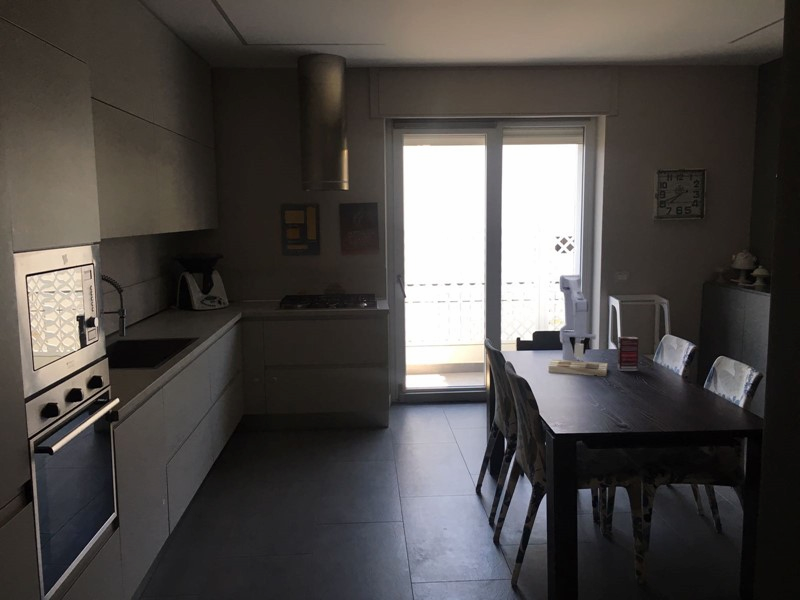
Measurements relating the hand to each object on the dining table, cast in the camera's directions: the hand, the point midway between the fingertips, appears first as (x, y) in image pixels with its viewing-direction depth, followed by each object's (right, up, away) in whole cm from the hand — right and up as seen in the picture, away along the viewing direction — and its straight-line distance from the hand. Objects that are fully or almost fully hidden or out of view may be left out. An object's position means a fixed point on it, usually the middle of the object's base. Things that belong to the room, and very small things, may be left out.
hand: (579, 353), depth 305 cm
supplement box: (+24, -8, +2) cm, 25 cm away
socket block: (0, -9, +1) cm, 9 cm away
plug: (0, -2, 0) cm, 2 cm away
